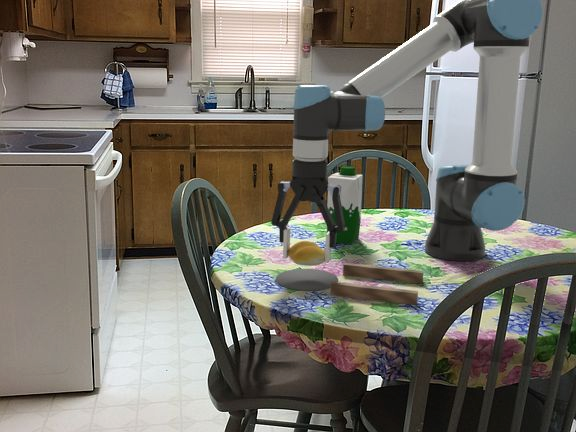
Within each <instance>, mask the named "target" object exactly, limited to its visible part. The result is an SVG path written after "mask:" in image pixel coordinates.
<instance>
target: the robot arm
mask: <svg viewBox="0 0 576 432" xmlns="http://www.w3.org/2000/svg"><path fill="white" fill-rule="evenodd" d="M543 11H544V9H543V3H542V1H541V0H456V1H454V3H452V4H451V5H449V6H448V7H446V8H445V9H444V10H443V11H442V12H440V13H438V14H437V15H436V16H434V18H433V21H432V24H429V26H427V27H426V28H425V29H423V30H422V31H420V32H418V33H417V34H416V35H414V36H413V37H411V38H410V39H409V40H407V41H406V42H404V43H402V45H400V46H398V47H397V48H396V49H394V50H392V51H391V52H390V53H388V54H387V55H385V56H384V57H382V58H381V59H380V60H378V61H377V62H375V63H373V64H372V65H371V66H369V67H368V68H366V69H365V70H364V71H362V72H361V73H359V74H358V75H357V76H355V77H353V78H352V79H350V80H349V81H348V82H346V83H344V84H343V85H342V86H340V87H339V88H338V89H336V90H332V91H331V88H330V86H328V85H322V84H320V85H318V84H301V85H298V86H297V87H296V88H295V90H294V98H293V99H294V100H293V107H292V108H293V135H292V136H293V138H292V140H293V141H292V156H293V160H292V169H291V171H292V173H291V180H290V181H285V180H282V181H280V182H278V184H277V192H278V193H277V198H276V202H275V206H274V210H273V214H272V218H271V221H270V223H271V225H272V226H274V227H277V229H279V230H278V231H279V234H278V236H279V237H278V238H279V239H278V240H279V243H281V244H283V245H282V246H283V247H282V258H283V259H287V258H289V255H288V251H289V249H290V248H291V227H290V226H289V227H288V225H289V222H290V221H291V218H292V217H293V215H294V213H295V211H296V209H297V208H298V205H300V202H307V201H308V202H310V203H315V204H316V206H317V207H318V209H319V212H320V214H321V217H322V218H323V221H324V224H325V226H326V229H327V228H328V230H329V231H328V232H327V231H326V234H325V247H324V248H325V249H324V250H325V262H324V263H325V264H328V263H330V261H331V260H332V249H334V248H335V247H336V245H337V243H336V234H337V233H338V232H342V231H343V230H344V229H345V222H344V216H343V211H342V205H341V199H340V192H341V186H340V185H337V186H333V185H329V184H328V161H327V159H326V158H328V156H329V155H328V154H329V137H330V136H329V133H330V131H332V132H336V131H348V132H349V131H350V132H351V131H354V132H356V131H360V132H361V131H363V132H366V133H367V132H368V131H369V132H370V131H378V130H380V129H382V127H383V125H384V122H385V117H386V106H385V102H384V100H383V98H384V97H385V96H386V95H389V94H390V93H391V92H393V91H394V90H395V89H397V88H398V87H400V86H401V85H403V84H404V83H405V82H407V81H409V80H410V79H411V78H413V77H414V76H416V75H417V74H419V73H420V72H421V71H423V70H424V69H426V68H427V67H428V66H430V65H431V64H433V63H435V62H436V61H438V60H439V59H441V58H442V57H444V56H445V55H446V54H447V53H449V52H454V53H455V52H458V51H460V50H461V49H463V48H464V47H466V46H468V45H470V44H472V43H473V50H474V51H475V52H476V53H477V54H478V56H479V63H478V76H477V91H476V106H475V117H474V119H475V120H474V132H473V147H472V159H471V162H470V164H447V165H441V166H440V167H439V168H438V170H437V175H436V179H435V182H436V187H435V197H434V198H435V199H434V200H435V201H434V213H433V214H434V215H433V216H434V217H433V223H432V226H431V228H430V230H429V232H428V235H427V237H426V240H425V242H424V243H425V245H424V252H425V253H427V254H428V255H430V256H431V257H435V258H438V259H441V260H448V261H457V262H470V261H478V260H481V259H483V258H485V256H486V242H485V240H484V235H483V230H482V229H485V230H488V231H493V232H495V231H496V232H497V231H503V230H506V229H508V228H510V227H512V225H513V224H515V222H517V221H518V220H519V219H520V217H521V216H522V214H523V211H524V208H525V202H526V199H525V195H524V193H523V191H522V189H521V188H520V187H519V186H518V185H517V179H518V170H517V169H516V168H515V167H514V166H513V164H512V160H513V159H512V157H513V146H514V135H515V122H516V110H517V101H518V100H517V99H518V98H517V97H518V90H519V78H520V67H521V66H520V65H521V57H522V55H523V54H524V53H526V51H528V50H529V47H530V38H531V36H532V35H533V34H534V33H535V32H536V30H537V29H538V28H539V27H540V25H541V23H542V20H543V15H544V12H543ZM290 189H291V190H292V191H293V193H294V196H293V198H292V200H291V203H290V204H289V206H288V208H287V210H286V212H285V214H284V215H283V218H282V219H281V217H282V213H283V209H284V205H285V201H286V197H287V192H288V191H289V190H290ZM328 190H329V192H330V195H331V196H332V201H333V206H334V212H335V218H336V223H337V226H336V225H335V222H334V220H333V218H332V216H331V213H330V211H329V209H328V206H327V205H328V203H326V200H327V199H326V198H325V196H324V195H325V193H326V192H328Z"/></svg>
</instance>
